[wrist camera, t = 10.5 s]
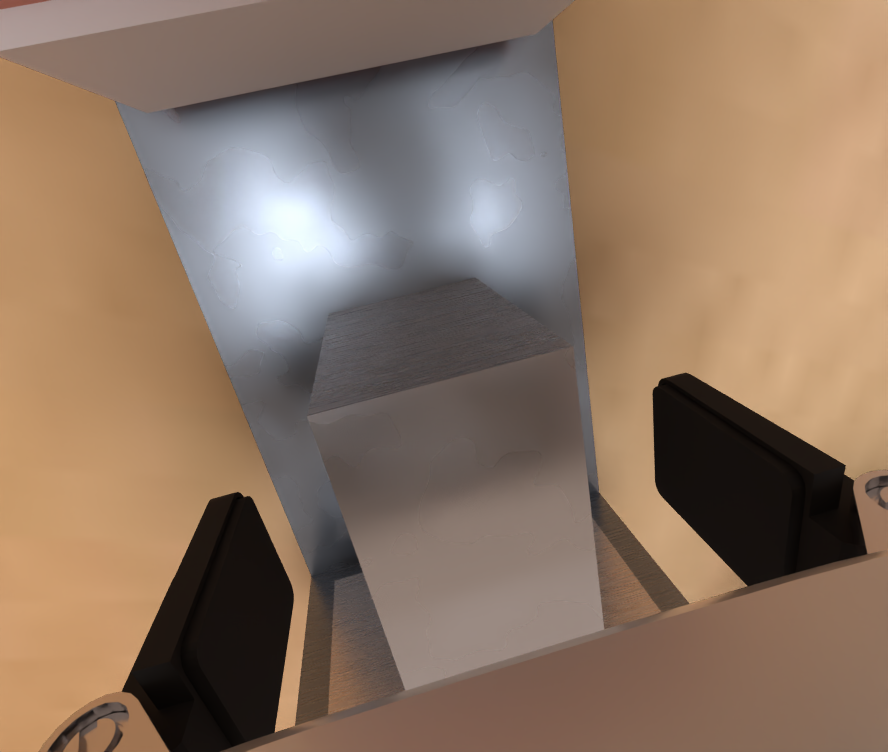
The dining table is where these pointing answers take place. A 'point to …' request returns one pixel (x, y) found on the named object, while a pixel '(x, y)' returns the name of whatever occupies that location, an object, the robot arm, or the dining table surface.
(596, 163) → the dining table surface
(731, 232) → the dining table surface
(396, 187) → the metal base plate
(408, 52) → the block
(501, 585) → the steel block
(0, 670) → the dining table surface
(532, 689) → the robot arm
